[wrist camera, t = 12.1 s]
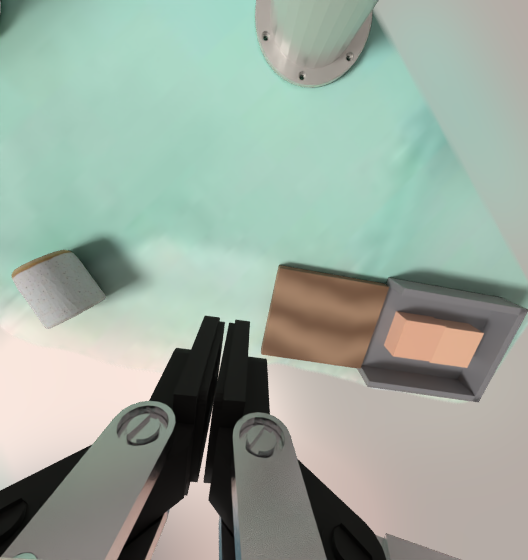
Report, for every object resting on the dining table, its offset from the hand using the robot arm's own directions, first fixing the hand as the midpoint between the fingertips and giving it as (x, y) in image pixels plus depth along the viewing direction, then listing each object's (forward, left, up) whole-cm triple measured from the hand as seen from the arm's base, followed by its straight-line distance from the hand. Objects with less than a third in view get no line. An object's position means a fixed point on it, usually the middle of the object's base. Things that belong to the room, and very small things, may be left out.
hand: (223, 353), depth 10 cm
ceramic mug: (+12, -24, -29) cm, 39 cm away
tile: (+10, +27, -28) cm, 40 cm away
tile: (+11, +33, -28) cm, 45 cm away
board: (+11, +13, -29) cm, 33 cm away
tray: (+11, +31, -29) cm, 43 cm away
